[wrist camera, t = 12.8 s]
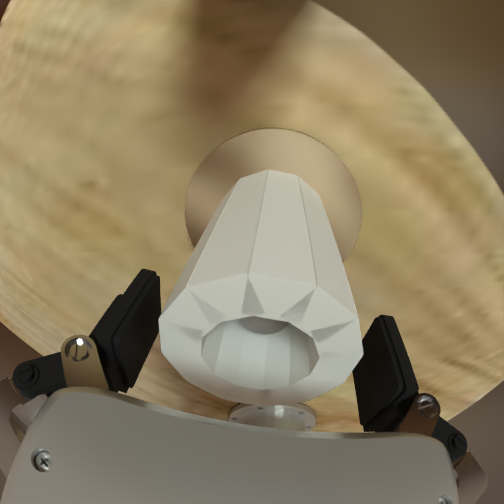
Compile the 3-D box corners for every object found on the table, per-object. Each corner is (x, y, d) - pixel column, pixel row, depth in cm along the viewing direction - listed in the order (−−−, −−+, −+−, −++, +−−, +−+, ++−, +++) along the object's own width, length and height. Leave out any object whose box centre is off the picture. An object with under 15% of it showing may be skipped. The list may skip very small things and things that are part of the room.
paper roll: (276, 283, 21) (266, 418, 12) (200, 226, 19) (132, 349, 10) (345, 220, 18) (397, 350, 8) (266, 148, 16) (241, 225, 7)
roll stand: (278, 304, 24) (272, 413, 15) (162, 219, 21) (90, 309, 12) (387, 210, 19) (455, 304, 10) (263, 91, 15) (239, 76, 6)
